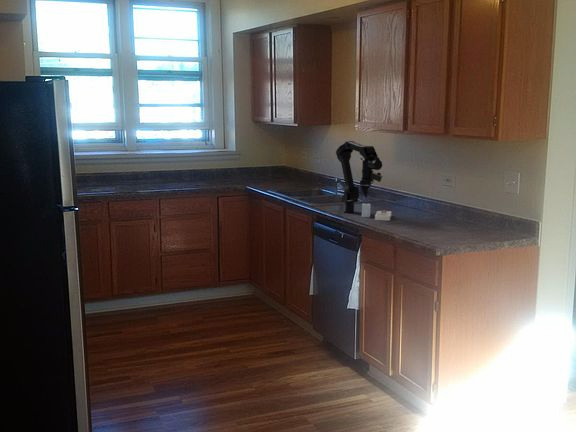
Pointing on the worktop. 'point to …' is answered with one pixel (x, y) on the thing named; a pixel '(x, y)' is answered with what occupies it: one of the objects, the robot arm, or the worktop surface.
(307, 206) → the worktop surface
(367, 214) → the box
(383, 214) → the power strip
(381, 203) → the worktop surface
